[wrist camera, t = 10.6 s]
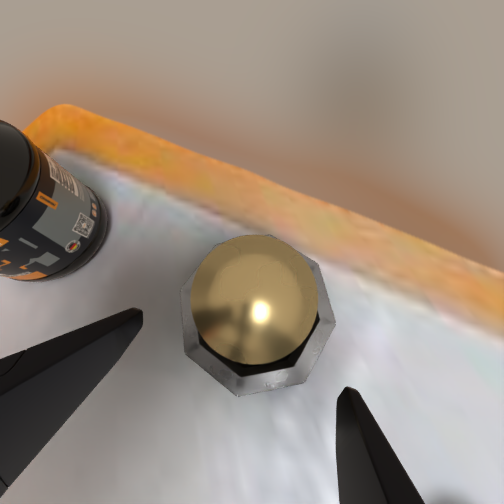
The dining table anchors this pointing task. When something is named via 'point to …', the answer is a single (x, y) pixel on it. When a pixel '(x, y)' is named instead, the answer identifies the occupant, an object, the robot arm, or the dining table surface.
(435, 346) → the dining table surface
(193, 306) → the gold bulb-shaped piece
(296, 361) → the collar fitting
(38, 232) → the supplement container
